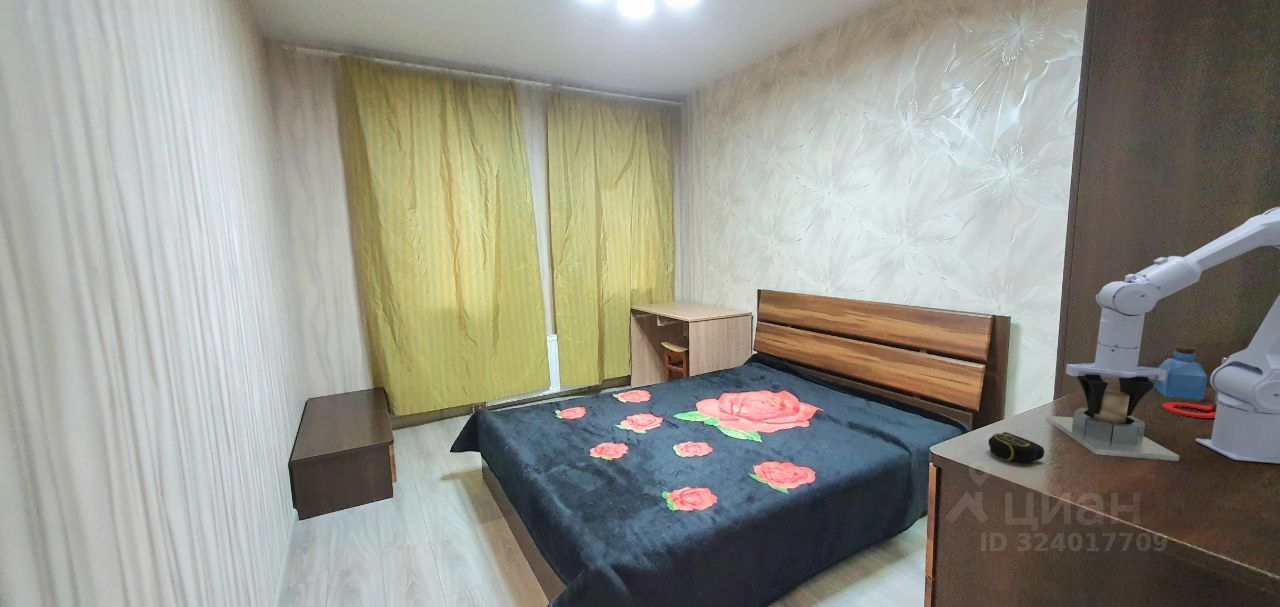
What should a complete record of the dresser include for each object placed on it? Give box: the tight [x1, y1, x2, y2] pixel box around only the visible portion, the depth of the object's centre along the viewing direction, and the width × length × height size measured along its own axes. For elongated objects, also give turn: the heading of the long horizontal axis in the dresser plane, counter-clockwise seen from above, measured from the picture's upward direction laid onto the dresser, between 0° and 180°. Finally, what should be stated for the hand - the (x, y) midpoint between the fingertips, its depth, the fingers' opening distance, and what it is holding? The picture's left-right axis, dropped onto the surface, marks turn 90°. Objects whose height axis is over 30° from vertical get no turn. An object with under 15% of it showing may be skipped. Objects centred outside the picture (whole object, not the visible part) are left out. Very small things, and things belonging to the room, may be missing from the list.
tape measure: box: [988, 431, 1045, 465], centre depth 85 cm, size 7×7×4 cm
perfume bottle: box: [1154, 345, 1208, 400], centre depth 112 cm, size 6×6×12 cm
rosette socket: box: [1045, 407, 1180, 462], centre depth 91 cm, size 12×16×4 cm
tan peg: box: [1093, 388, 1130, 424], centre depth 90 cm, size 4×4×6 cm
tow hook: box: [1162, 357, 1229, 419], centre depth 102 cm, size 8×13×9 cm
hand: (1108, 413), depth 91 cm, fingers closed on tan peg, 4 cm apart
